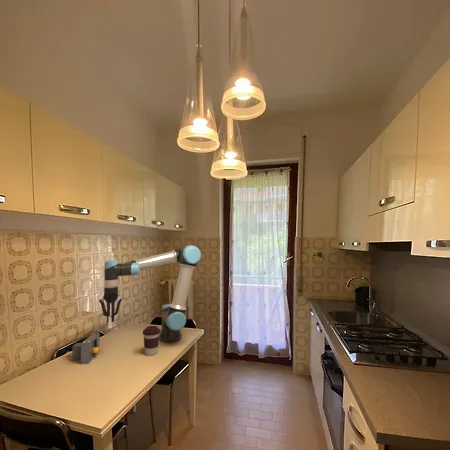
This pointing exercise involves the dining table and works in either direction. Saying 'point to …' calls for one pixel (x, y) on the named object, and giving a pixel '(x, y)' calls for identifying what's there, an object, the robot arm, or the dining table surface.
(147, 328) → the coffee cup
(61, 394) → the dining table surface
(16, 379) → the dining table surface
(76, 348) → the plug
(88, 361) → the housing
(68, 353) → the pad
